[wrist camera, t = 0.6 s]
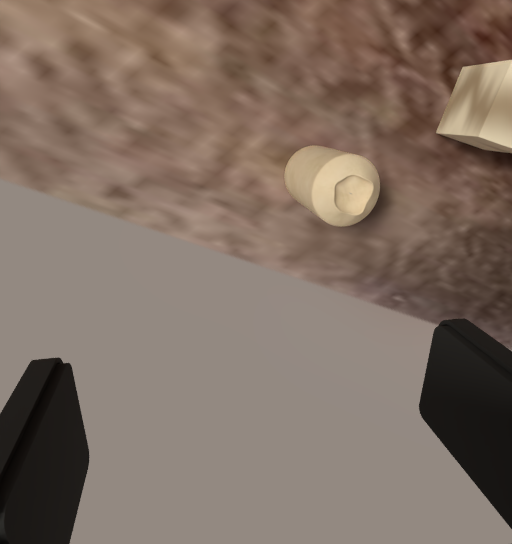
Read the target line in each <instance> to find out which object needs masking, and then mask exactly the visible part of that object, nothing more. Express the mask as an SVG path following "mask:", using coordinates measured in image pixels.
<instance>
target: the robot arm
mask: <svg viewBox="0 0 512 544" xmlns="http://www.w3.org/2000/svg"><path fill="white" fill-rule="evenodd" d="M419 410H420V414H421V416H422V418H423V419H424V421H425V422H426V423H427V424H428V426H429V427H430V428H431V429H432V431H433V432H434V433H435V434H436V435H437V437H438V438H439V439H440V441H441V442H442V443H443V444H444V446H445V447H446V448H447V449H448V450H449V452H450V453H451V454H452V455H453V457H454V458H455V459H456V460H457V462H458V463H459V464H460V465H461V467H462V468H463V469H464V470H465V472H466V473H467V474H468V475H469V476H470V478H471V479H472V480H473V481H474V483H475V484H476V485H477V486H478V488H479V489H480V490H481V492H482V493H483V494H484V495H485V496H486V498H487V499H488V500H489V501H490V503H491V504H492V505H493V506H494V508H495V509H496V510H497V511H498V512H499V514H500V515H501V516H502V517H503V519H504V520H505V521H506V523H507V524H508V525H509V526H510V528H511V529H512V351H510V350H509V349H508V348H506V347H505V346H503V345H502V344H501V343H499V342H498V341H496V340H495V339H494V338H492V337H491V336H489V335H488V334H487V333H485V332H484V331H482V330H481V329H480V328H478V327H477V326H475V325H474V324H473V323H471V322H470V321H468V320H466V319H452V320H444V321H442V322H441V323H440V324H439V326H438V327H436V328H435V330H434V334H433V338H432V343H431V348H430V353H429V358H428V363H427V369H426V373H425V379H424V384H423V388H422V393H421V399H420V404H419ZM88 465H89V449H88V445H87V439H86V434H85V429H84V425H83V420H82V415H81V411H80V405H79V400H78V396H77V391H76V387H75V381H74V376H73V371H72V367H71V365H70V363H63V362H62V360H61V359H60V358H49V359H39V360H33V361H31V362H30V364H29V365H28V367H27V369H26V371H25V373H24V374H23V376H22V377H21V379H20V381H19V383H18V384H17V386H16V388H15V389H14V391H13V393H12V395H11V396H10V398H9V400H8V402H7V403H6V405H5V407H4V408H3V410H2V412H1V414H0V544H69V543H70V539H71V535H72V531H73V526H74V523H75V518H76V514H77V510H78V506H79V502H80V498H81V494H82V490H83V486H84V482H85V478H86V474H87V470H88Z"/></svg>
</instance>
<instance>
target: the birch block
mask: <svg viewBox="0 0 512 544" xmlns="http://www.w3.org/2000/svg"><path fill="white" fill-rule="evenodd" d="M436 133H437V134H440V135H443V136H446V137H449V138H452V139H454V140H457V141H460V142H463V143H466V144H469V145H472V146H475V147H478V148H480V149H483V150H490V151H498V152H506V153H512V60H507V61H500V62H494V63H487V64H481V65H474V66H468V67H463V68H462V70H461V73H460V75H459V78H458V80H457V83H456V85H455V88H454V90H453V93H452V95H451V97H450V100H449V102H448V105H447V107H446V110H445V112H444V115H443V117H442V119H441V122H440V124H439V127H438V129H437V132H436Z"/></svg>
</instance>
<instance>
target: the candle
mask: <svg viewBox="0 0 512 544" xmlns="http://www.w3.org/2000/svg"><path fill="white" fill-rule="evenodd" d="M284 179H285V185H286V188H287V190H288V192H289V193H290V195H291V196H292V197H293V198H294V199H295V200H296V201H298V202H299V203H301V204H302V205H303V206H305V207H306V208H307V209H309V210H310V211H311V212H313V213H314V214H315V215H317V216H318V217H319V218H321V219H322V220H324V221H325V222H326V223H328V224H331V225H334V226H342V227H343V226H349V225H353V224H356V223H357V222H359V221H361V220H362V219H364V218H365V217H366V216H367V215H368V214H369V213H370V212H371V211H372V209H373V208H374V206H375V204H376V202H377V200H378V197H379V192H380V179H379V175H378V172H377V170H376V168H375V167H374V165H373V164H372V163H371V162H370V161H369V160H368V159H366V158H364V157H362V156H360V155H356V154H352V153H348V152H344V151H339V150H335V149H331V148H327V147H323V146H316V145H314V146H307V147H304V148H302V149H300V150H298V151H297V152H296V153H295V154H294V155H293V156H292V157H291V158H290V160H289V161H288V163H287V166H286V169H285V174H284Z"/></svg>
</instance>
